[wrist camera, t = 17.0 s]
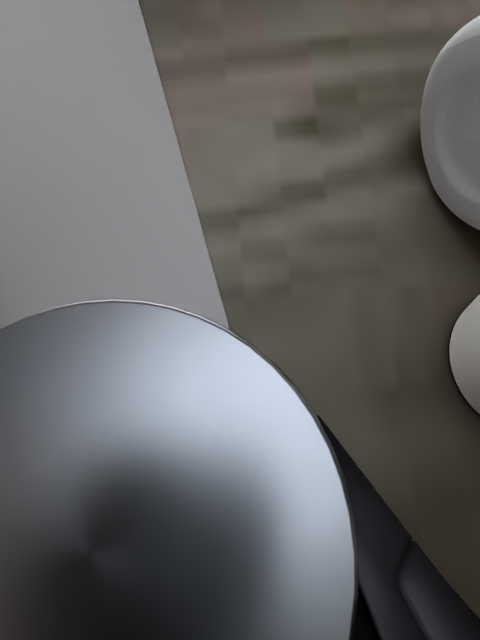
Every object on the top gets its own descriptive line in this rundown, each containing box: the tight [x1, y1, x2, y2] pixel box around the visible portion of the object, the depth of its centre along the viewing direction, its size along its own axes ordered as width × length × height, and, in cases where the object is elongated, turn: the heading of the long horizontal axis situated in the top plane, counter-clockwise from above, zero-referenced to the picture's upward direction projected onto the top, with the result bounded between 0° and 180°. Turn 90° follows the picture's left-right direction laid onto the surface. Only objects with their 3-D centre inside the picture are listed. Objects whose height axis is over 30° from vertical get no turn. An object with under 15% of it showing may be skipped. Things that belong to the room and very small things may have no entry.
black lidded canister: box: [0, 299, 359, 640], centre depth 8 cm, size 6×6×8 cm
